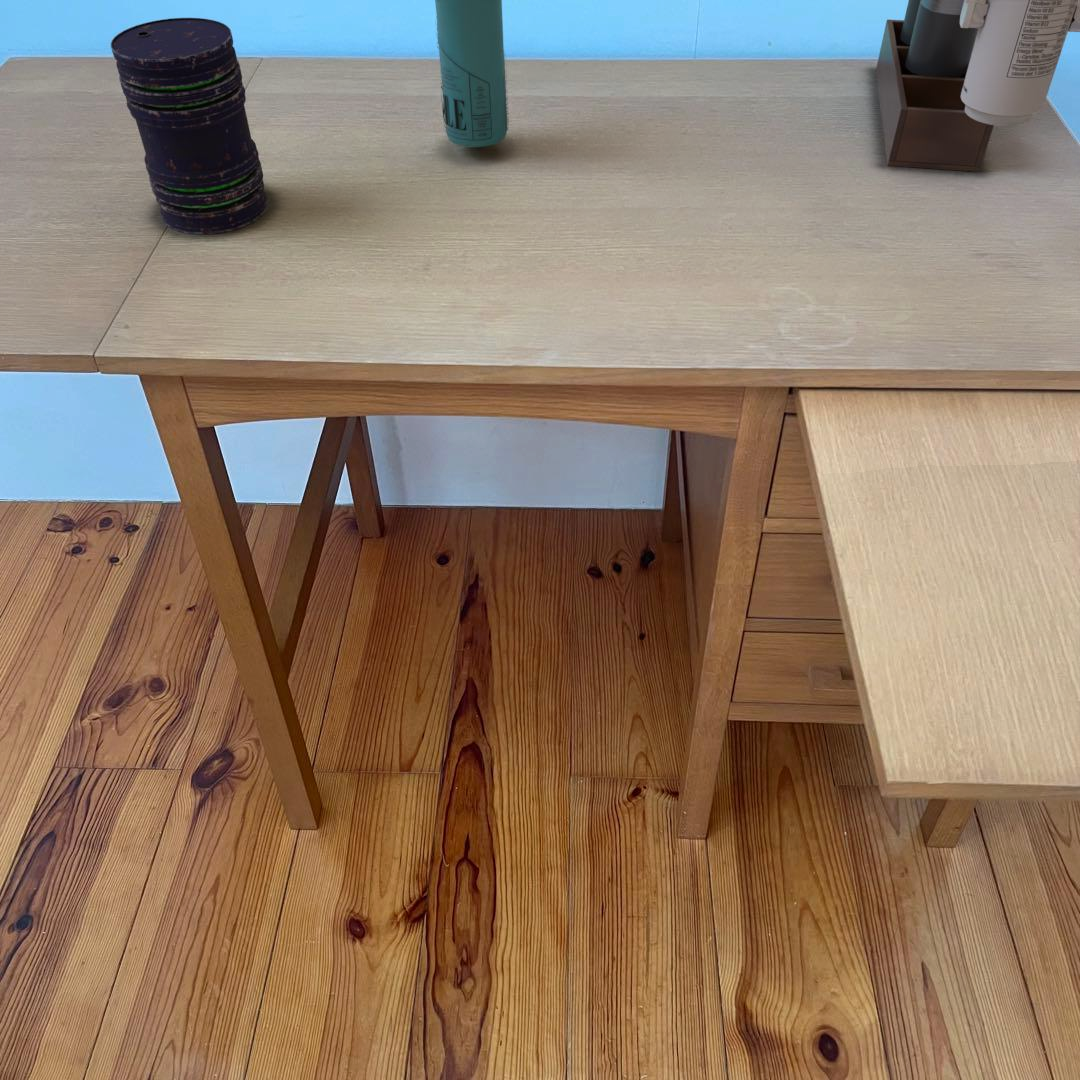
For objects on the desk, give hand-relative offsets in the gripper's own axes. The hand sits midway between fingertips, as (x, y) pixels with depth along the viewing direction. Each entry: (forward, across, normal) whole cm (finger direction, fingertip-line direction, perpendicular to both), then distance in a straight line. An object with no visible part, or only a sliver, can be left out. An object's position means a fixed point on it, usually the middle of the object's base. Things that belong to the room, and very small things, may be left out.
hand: (1022, 27), depth 73 cm
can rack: (+18, 0, -28) cm, 34 cm away
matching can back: (+18, 0, -36) cm, 40 cm away
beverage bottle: (+18, +45, -13) cm, 50 cm away
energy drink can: (+6, 0, 0) cm, 6 cm away
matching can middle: (+18, 0, -28) cm, 33 cm away
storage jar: (+17, +66, +3) cm, 69 cm away
